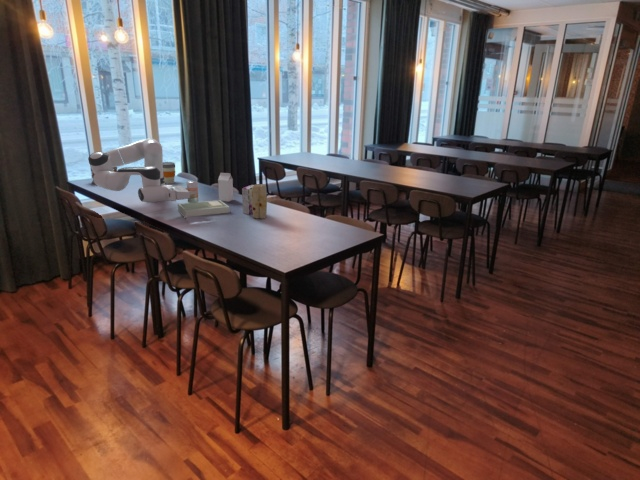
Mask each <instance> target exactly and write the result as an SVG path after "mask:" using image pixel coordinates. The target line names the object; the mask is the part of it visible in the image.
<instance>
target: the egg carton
mask: <svg viewBox="0 0 640 480" xmlns="http://www.w3.org/2000/svg"><path fill="white" fill-rule="evenodd" d="M212 201H213V202H208V208H217V207H223V205H222V204H221V203H219V202H218V201H216V200H212Z"/></svg>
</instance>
